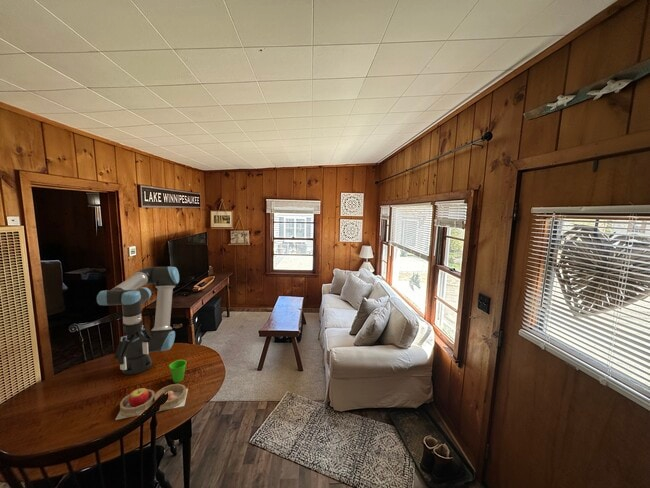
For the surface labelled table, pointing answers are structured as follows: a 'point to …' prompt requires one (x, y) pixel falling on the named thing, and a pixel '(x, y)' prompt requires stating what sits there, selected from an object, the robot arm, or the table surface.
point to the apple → (138, 397)
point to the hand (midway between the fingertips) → (135, 361)
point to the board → (149, 399)
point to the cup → (178, 370)
